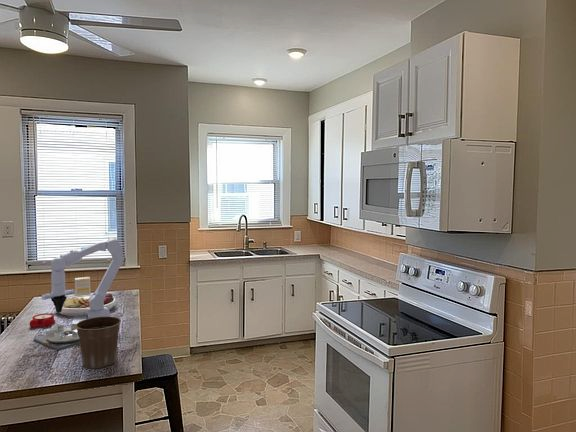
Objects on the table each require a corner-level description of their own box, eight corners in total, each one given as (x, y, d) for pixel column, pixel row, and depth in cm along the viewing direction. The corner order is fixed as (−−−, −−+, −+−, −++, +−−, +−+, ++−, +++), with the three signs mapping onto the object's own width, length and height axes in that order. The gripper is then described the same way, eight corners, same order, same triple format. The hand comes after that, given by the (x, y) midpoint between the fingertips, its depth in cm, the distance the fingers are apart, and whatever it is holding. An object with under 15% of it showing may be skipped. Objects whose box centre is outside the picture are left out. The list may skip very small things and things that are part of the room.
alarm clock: (57, 312, 225) (51, 314, 211) (57, 325, 224) (50, 327, 210) (34, 313, 222) (26, 315, 208) (34, 326, 221) (26, 329, 207)
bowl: (62, 321, 222) (62, 306, 221) (50, 308, 245) (50, 294, 245) (122, 312, 241) (122, 297, 240) (106, 300, 264) (105, 287, 264)
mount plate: (77, 328, 211) (76, 326, 210) (101, 337, 199) (101, 334, 199) (33, 340, 194) (33, 337, 194) (57, 350, 183) (57, 347, 183)
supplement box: (89, 297, 269) (89, 276, 268) (90, 299, 264) (90, 278, 264) (74, 299, 264) (74, 277, 264) (75, 301, 260) (75, 279, 259)
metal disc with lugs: (38, 338, 194) (38, 329, 194) (74, 327, 208) (74, 319, 208) (60, 345, 185) (60, 336, 185) (96, 334, 199) (96, 326, 199)
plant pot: (71, 373, 162) (70, 330, 160) (81, 356, 177) (80, 317, 176) (118, 369, 165) (117, 327, 164) (123, 353, 181) (123, 315, 180)
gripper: (68, 279, 213) (69, 307, 214) (38, 284, 201) (38, 313, 202) (76, 281, 209) (77, 309, 210) (46, 286, 197) (46, 316, 198)
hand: (58, 311), depth 206 cm, fingers closed
